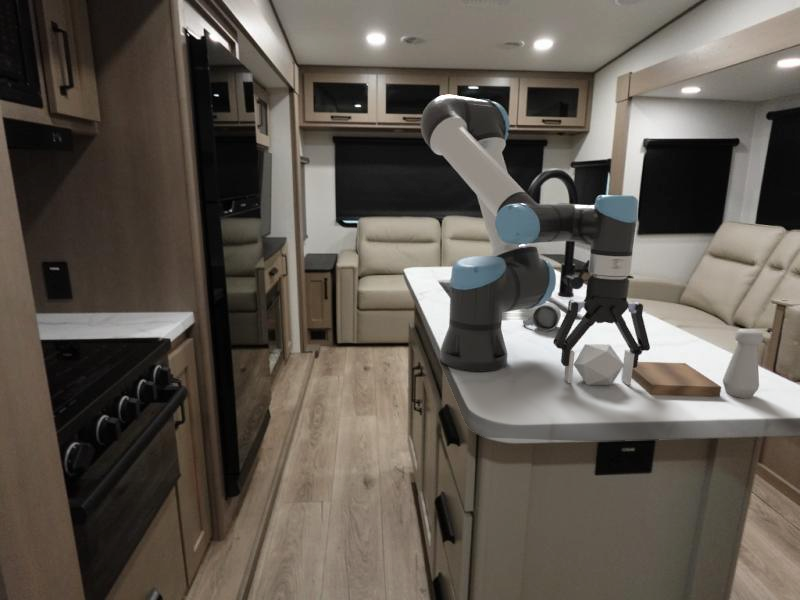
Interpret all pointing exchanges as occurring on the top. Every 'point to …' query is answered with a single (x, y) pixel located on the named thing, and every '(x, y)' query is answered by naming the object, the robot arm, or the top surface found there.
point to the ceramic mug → (544, 317)
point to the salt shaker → (744, 365)
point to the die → (598, 364)
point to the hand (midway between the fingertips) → (596, 381)
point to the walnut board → (673, 379)
